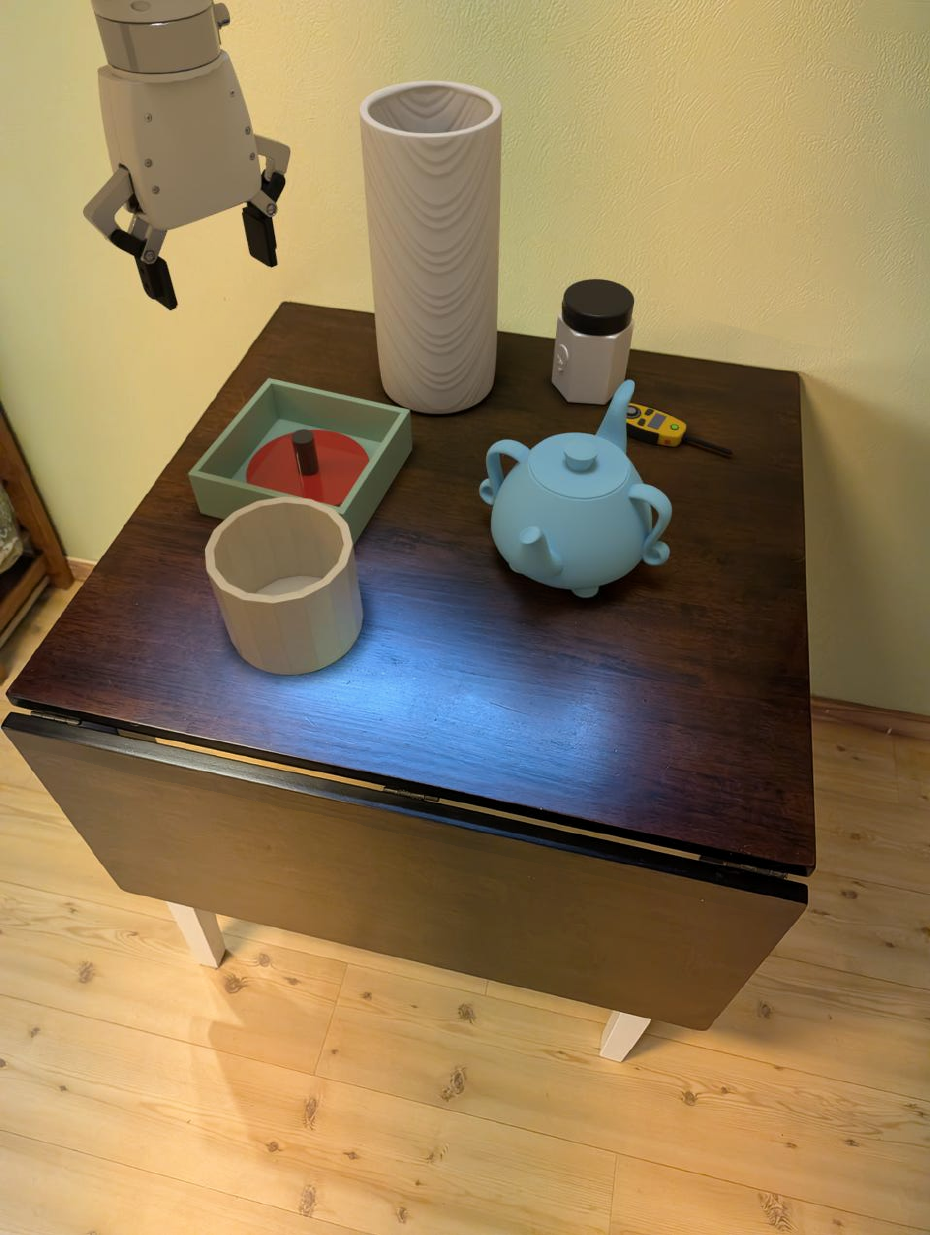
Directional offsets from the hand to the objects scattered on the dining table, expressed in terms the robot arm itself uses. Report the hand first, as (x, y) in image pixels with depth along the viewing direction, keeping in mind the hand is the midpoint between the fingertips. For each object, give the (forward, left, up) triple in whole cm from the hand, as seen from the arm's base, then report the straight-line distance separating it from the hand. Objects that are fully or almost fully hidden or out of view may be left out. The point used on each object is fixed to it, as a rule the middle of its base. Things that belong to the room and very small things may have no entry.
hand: (215, 281), depth 69 cm
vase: (+23, +19, -27) cm, 40 cm away
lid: (+5, +5, -26) cm, 27 cm away
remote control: (+47, +2, -27) cm, 54 cm away
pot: (+1, -15, -27) cm, 31 cm away
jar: (+41, +14, -27) cm, 51 cm away
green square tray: (+5, +5, -27) cm, 28 cm away
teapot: (+29, -13, -27) cm, 42 cm away
